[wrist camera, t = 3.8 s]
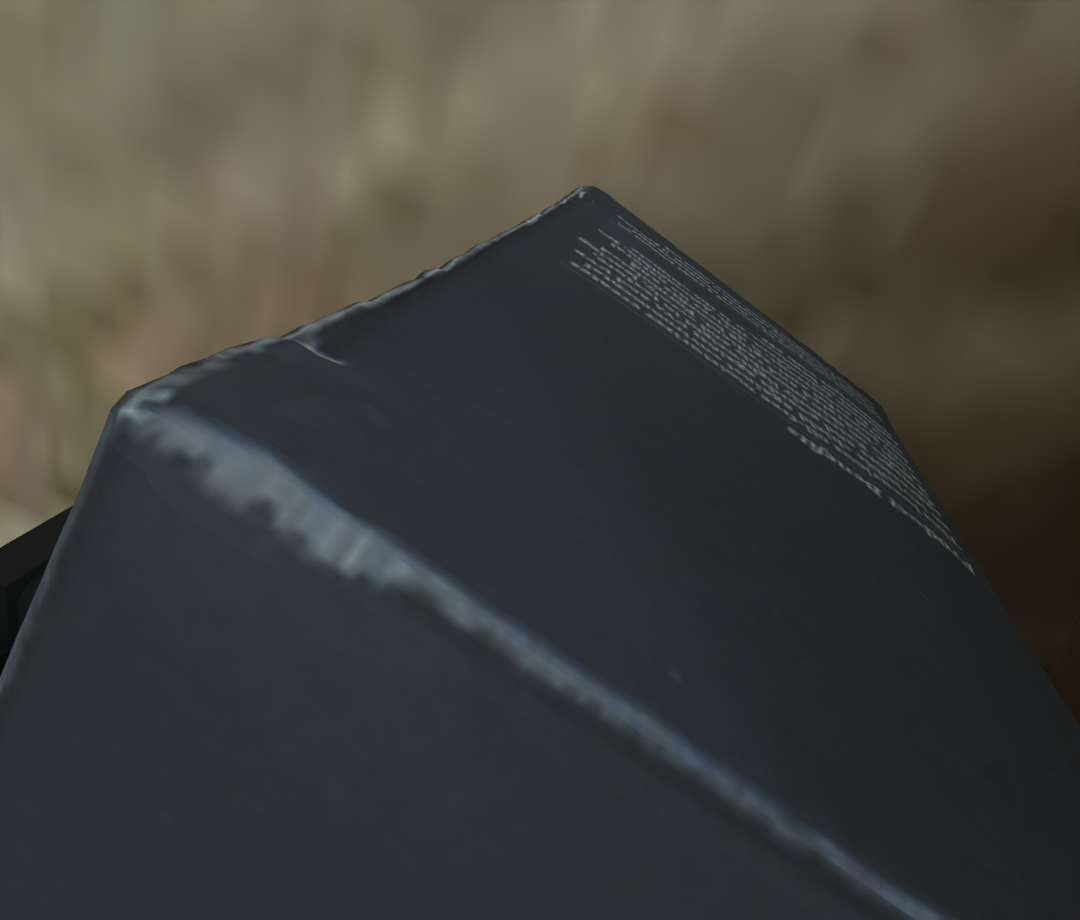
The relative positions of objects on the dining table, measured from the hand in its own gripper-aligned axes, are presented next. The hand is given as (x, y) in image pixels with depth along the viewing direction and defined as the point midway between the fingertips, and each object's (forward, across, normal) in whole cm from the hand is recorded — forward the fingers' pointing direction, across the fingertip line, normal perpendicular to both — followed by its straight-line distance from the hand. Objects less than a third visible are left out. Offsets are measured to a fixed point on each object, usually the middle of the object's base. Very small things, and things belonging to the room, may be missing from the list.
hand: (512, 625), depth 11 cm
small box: (+3, 0, 0) cm, 3 cm away
